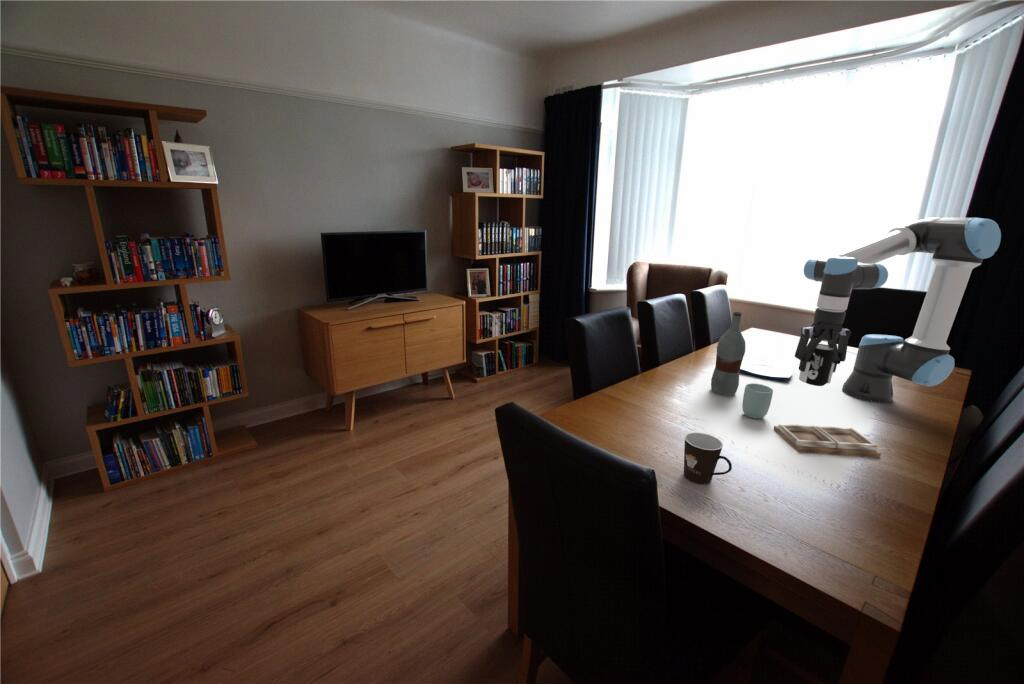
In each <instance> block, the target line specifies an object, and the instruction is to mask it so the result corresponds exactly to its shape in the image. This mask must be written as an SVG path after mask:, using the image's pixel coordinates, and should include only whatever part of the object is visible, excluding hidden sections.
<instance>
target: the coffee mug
mask: <svg viewBox="0 0 1024 684" xmlns="http://www.w3.org/2000/svg"><path fill="white" fill-rule="evenodd" d="M723 447H724V444H723V442H722V440H720V439H719V438H718V437H715V436H714V435H711V434H707V433H703V432H689V433H686V434H685V435H684V450H683V451H684V454H683V455H684V456H683V458H684V459H683V476H684V478H685V479H686V480H687V481H689V482H691V483H693V484H696V485H709V484H710V483H711V482H712V479H713V476H721V475H722V476H724V475H726V474H729V473H730V472H731V471H732V468H733V465H732V462H731V460H730V459H729V458H727V456H724V455H721V452H722V449H723ZM720 459H722V460H724V461H726V462H727V465H728V469H727V470H725V471H721V472H719V471H718V472H715V470H716V467H717V464H718V461H719V460H720Z"/></svg>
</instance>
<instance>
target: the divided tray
mask: <svg viewBox="0 0 1024 684" xmlns="http://www.w3.org/2000/svg"><path fill="white" fill-rule="evenodd" d="M773 426H774V427H773V430H774V431H775V433H777V434H778V435H779V436H780V437H782V439H784V440H785V441H786V442H787V443H788V445H790V446H791V447H792V448H793V449H794V450H795V451H797V453H799V454H815V455H817V454H818V455H834V456H847V457H848V456H850V457H852V456H853V457H865V456H867V457H869V458H881V456H882V453H881V452H879V450H877V447H878V444H876V443H875V442H873V441H872V440H870V439H868V438H867V437H866V436H864V435H863V434H861V433H860V432H859V431H857V430H856V429H854V428H853V427H844V426H843V427H841V426H840V427H839V426H825V425H816V426H815V425H806V424H790V423H789V424H788V423H778V425H773Z"/></svg>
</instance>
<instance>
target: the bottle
mask: <svg viewBox="0 0 1024 684" xmlns="http://www.w3.org/2000/svg"><path fill="white" fill-rule="evenodd" d="M732 314H733V315H732V318H731V324H730V327H729V328H728V329H727V330H726V331H725V332H724V333H723V334H722V335H721V336H720V338H719V340H718V342H717V346H716V355H715V356H716V357H715V367H714V370H713V373H712V377H711V379H710V389H711V392H712V393H713V394H716V395H719V396H723V397H734V396H735V395H736V393H737V391H738V390H739V388H738V387H739V385H740V372H741V371H740V367H741V364H742V360H743V357H745V354H746V341H745V338H744V336H743V333H742V332H741V329H740V324H741V317H742V312H740V311H733V313H732Z"/></svg>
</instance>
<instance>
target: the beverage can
mask: <svg viewBox="0 0 1024 684" xmlns="http://www.w3.org/2000/svg"><path fill="white" fill-rule="evenodd" d="M833 356H834V351H833V348H831V347H829V346H828V344H824V343H819V344H818V346H817V347H816V349H815V350H814V352H813V354H812V355H811V357H810V359H809V360H808V362H810V367H809V372H808V376H807V380H806V382H804V383H806V384H807V385H811V386H813V387H814V386H816V387H824V386H825V385H828V383H827V381H828V377H829V373H830V368H831V364H832V360H833Z"/></svg>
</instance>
